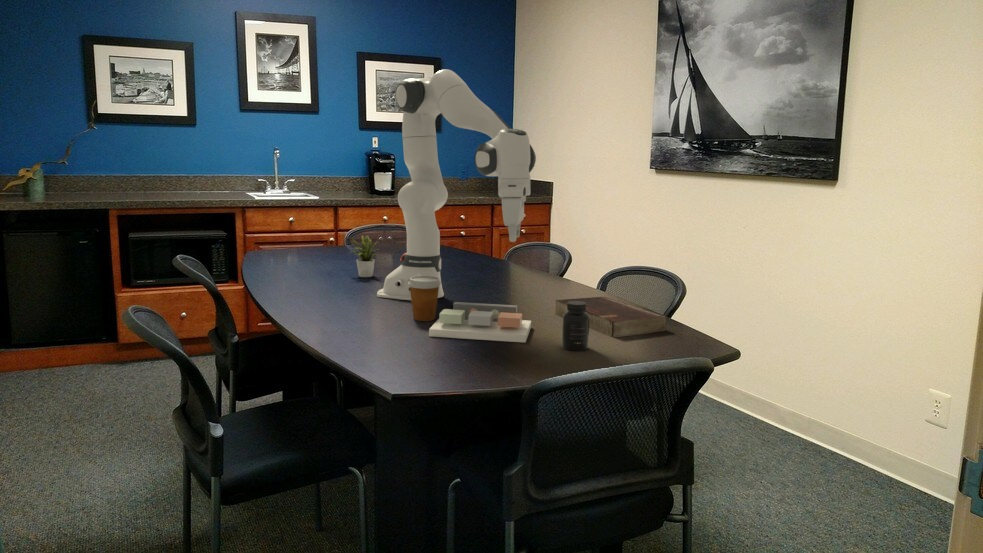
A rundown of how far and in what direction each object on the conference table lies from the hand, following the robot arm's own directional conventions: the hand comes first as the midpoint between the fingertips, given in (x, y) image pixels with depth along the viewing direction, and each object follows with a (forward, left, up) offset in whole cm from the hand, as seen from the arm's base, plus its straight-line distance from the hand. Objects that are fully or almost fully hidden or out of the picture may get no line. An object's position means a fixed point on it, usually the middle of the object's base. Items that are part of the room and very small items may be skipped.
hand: (514, 239), depth 197 cm
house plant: (-66, +66, -26) cm, 97 cm away
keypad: (-8, -6, -25) cm, 27 cm away
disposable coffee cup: (-27, +5, -26) cm, 37 cm away
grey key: (-8, -7, -23) cm, 26 cm away
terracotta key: (0, -7, -23) cm, 24 cm away
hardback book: (+27, +14, -26) cm, 40 cm away
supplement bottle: (+18, -16, -26) cm, 35 cm away
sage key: (-16, -7, -23) cm, 29 cm away
